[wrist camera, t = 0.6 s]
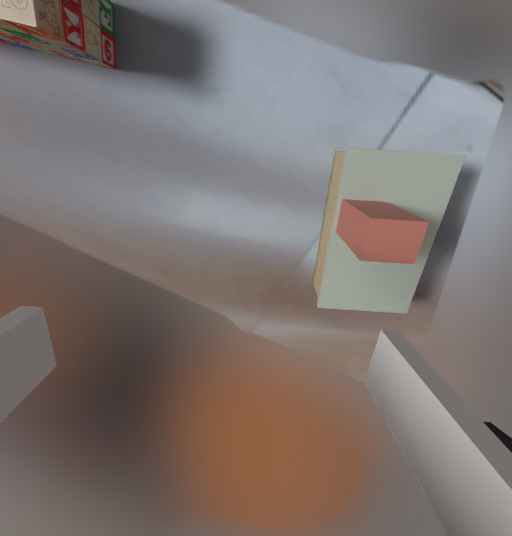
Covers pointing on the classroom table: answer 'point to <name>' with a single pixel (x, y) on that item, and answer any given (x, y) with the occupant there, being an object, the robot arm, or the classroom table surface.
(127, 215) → the classroom table surface
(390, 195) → the lid
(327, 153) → the classroom table surface
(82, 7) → the stack of blocks
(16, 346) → the robot arm
